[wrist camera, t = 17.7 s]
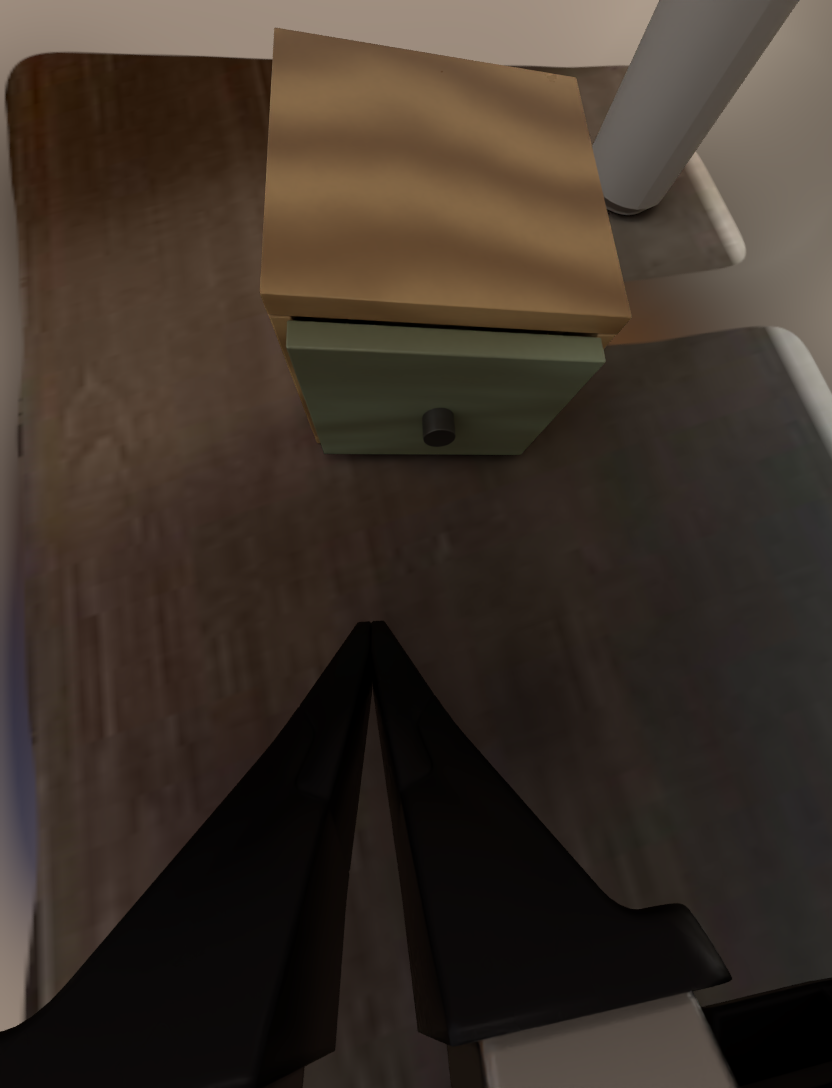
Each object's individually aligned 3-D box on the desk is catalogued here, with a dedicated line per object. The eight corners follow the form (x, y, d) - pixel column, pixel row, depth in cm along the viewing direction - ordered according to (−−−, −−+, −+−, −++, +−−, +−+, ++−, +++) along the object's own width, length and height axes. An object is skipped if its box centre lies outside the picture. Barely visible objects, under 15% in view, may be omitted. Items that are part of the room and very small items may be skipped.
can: (644, 162, 29) (822, -141, 17) (666, 224, 27) (876, -59, 16) (570, 156, 28) (707, -170, 16) (589, 220, 26) (754, -86, 15)
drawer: (523, 472, 20) (612, 387, 12) (323, 473, 18) (284, 376, 11) (499, 297, 22) (560, 138, 15) (324, 284, 21) (293, 101, 13)
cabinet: (521, 445, 21) (632, 317, 12) (316, 443, 20) (259, 292, 10) (499, 284, 24) (576, 77, 15) (318, 271, 22) (274, 26, 13)
